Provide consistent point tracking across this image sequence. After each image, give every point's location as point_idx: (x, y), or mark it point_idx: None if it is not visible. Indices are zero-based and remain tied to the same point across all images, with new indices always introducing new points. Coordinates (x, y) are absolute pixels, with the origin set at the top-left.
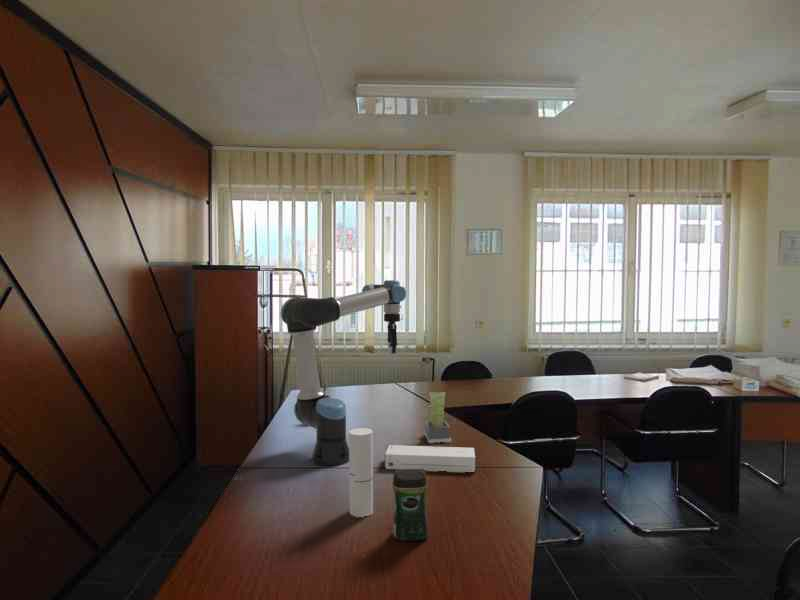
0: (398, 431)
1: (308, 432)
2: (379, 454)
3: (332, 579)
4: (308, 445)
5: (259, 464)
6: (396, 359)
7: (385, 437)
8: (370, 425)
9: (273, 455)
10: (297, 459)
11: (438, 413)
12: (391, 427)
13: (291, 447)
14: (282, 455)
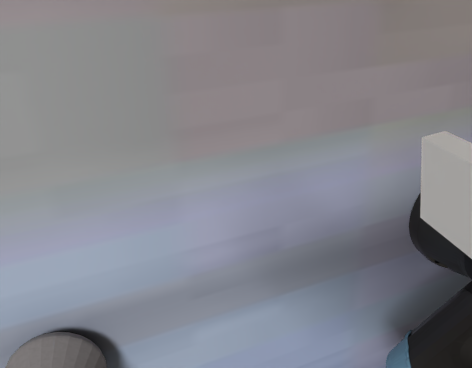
0: (156, 24)
1: (204, 352)
2: (443, 73)
3: None
4: (336, 306)
5: None
6: (454, 138)
7: (251, 76)
8: (76, 171)
9: None
10: (444, 291)
11: None
12: (92, 67)
13: (350, 339)
14: None
